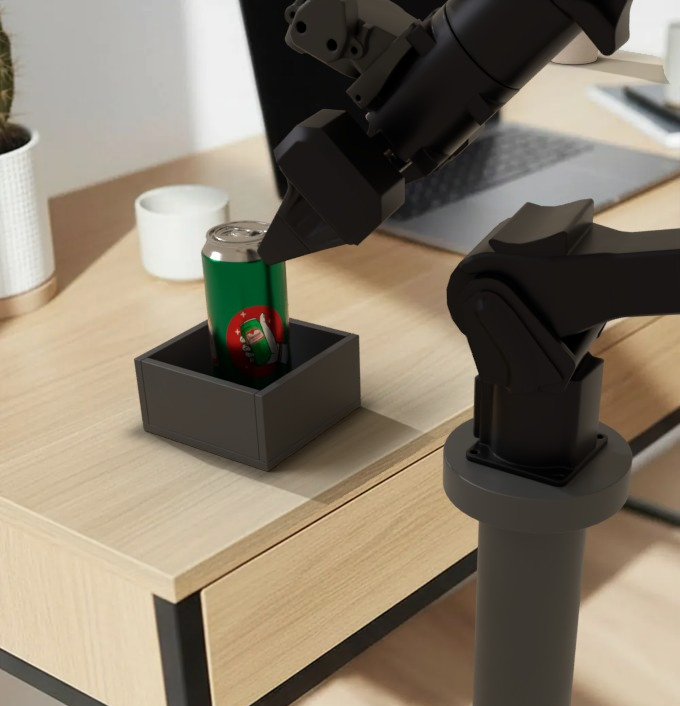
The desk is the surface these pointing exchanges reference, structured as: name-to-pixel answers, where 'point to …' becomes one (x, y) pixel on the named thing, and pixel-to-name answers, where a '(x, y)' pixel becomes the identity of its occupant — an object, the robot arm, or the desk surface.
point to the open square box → (249, 395)
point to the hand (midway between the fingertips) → (296, 231)
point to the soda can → (245, 306)
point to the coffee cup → (578, 51)
